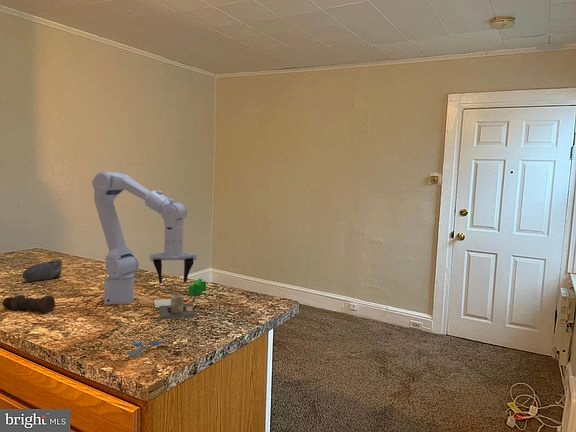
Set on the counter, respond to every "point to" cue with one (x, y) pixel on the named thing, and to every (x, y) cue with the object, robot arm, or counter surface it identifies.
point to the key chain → (138, 351)
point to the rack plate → (165, 313)
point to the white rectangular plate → (162, 302)
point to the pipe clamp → (197, 287)
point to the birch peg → (176, 303)
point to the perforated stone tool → (43, 271)
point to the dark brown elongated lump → (30, 303)
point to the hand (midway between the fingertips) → (172, 282)
